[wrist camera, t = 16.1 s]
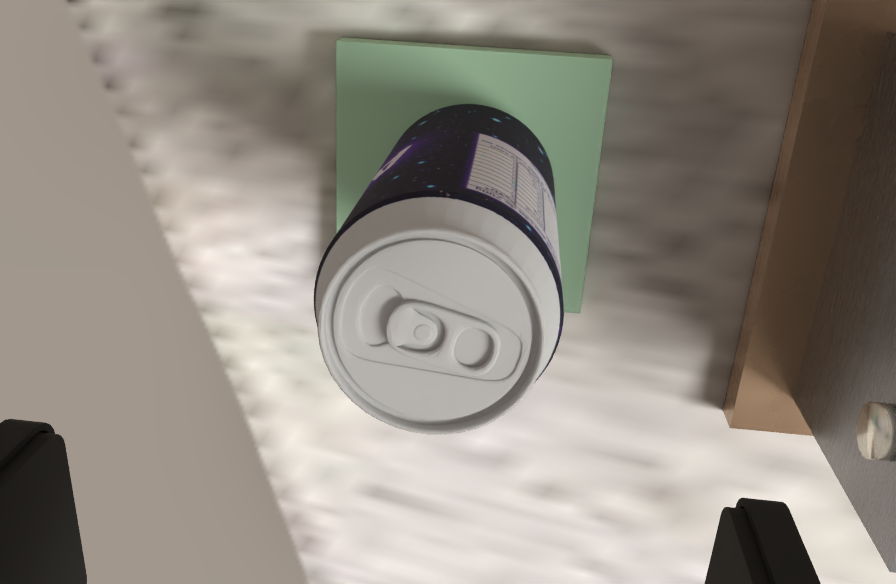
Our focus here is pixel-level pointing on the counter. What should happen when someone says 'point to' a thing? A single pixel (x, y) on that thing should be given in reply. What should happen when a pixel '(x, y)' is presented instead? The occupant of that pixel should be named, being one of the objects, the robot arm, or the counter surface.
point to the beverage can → (446, 276)
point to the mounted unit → (832, 266)
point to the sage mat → (484, 83)
